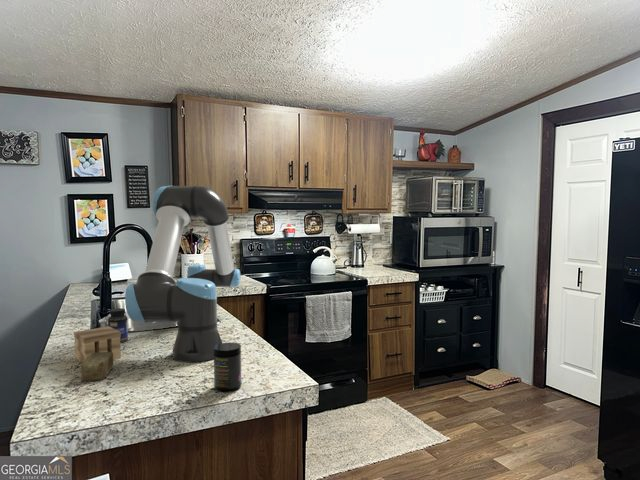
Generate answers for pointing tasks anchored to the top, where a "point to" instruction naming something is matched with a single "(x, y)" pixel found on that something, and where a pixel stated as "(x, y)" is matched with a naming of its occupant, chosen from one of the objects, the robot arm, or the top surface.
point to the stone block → (97, 366)
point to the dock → (97, 342)
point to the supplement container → (227, 366)
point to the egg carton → (104, 321)
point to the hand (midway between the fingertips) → (138, 317)
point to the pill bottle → (119, 323)
